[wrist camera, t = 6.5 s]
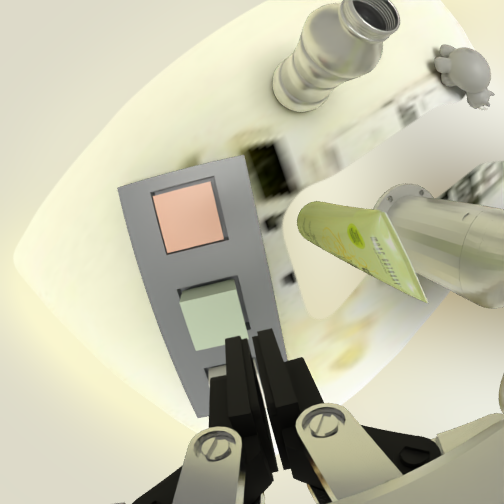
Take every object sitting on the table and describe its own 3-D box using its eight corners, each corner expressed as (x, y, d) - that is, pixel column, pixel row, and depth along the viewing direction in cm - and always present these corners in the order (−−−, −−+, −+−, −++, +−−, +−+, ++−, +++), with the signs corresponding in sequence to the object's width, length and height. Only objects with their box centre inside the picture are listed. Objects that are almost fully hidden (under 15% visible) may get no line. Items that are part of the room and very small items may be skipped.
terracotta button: (210, 181, 33) (210, 181, 29) (223, 233, 34) (224, 239, 31) (158, 195, 32) (152, 196, 29) (172, 246, 34) (167, 253, 30)
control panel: (241, 156, 33) (243, 154, 30) (290, 386, 41) (294, 396, 38) (123, 187, 32) (117, 187, 29) (198, 406, 40) (197, 418, 37)
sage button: (233, 278, 34) (236, 289, 30) (245, 324, 35) (248, 339, 32) (182, 290, 33) (179, 302, 30) (197, 335, 35) (195, 351, 31)
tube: (286, 236, 36) (363, 295, 17) (296, 194, 35) (386, 210, 16) (329, 245, 36) (428, 304, 18) (339, 205, 36) (450, 232, 17)
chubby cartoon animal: (453, 118, 37) (495, 129, 30) (426, 61, 30) (476, 65, 24) (465, 93, 36) (505, 102, 30) (441, 37, 29) (486, 41, 23)
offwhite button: (254, 358, 37) (258, 373, 33) (263, 391, 38) (267, 408, 35) (208, 368, 36) (208, 384, 33) (220, 401, 38) (222, 418, 34)
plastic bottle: (271, 116, 32) (339, 46, 13) (265, 65, 31) (318, -36, 11) (324, 115, 33) (428, 63, 13) (316, 66, 31) (403, -16, 12)
